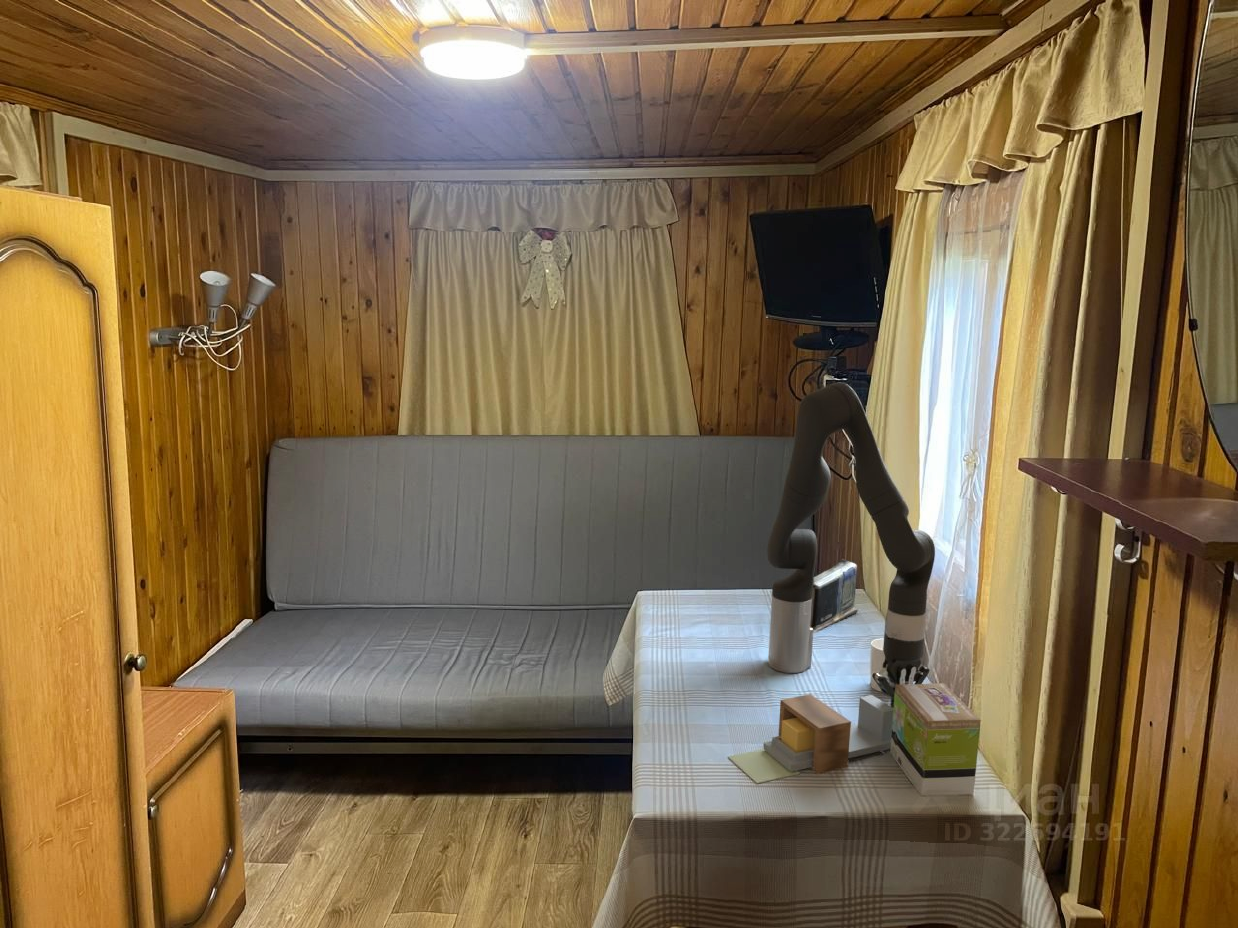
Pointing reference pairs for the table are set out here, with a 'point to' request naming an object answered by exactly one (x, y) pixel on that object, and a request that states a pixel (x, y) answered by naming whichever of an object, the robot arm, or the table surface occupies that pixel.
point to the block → (797, 735)
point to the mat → (761, 766)
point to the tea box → (935, 739)
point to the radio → (833, 595)
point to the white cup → (876, 660)
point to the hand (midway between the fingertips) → (897, 714)
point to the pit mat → (865, 756)
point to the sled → (864, 736)
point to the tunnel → (820, 730)
